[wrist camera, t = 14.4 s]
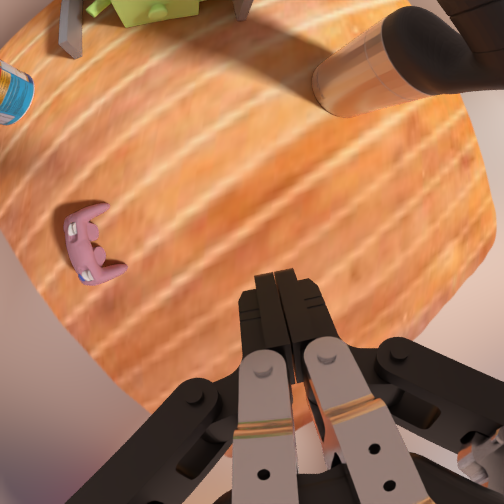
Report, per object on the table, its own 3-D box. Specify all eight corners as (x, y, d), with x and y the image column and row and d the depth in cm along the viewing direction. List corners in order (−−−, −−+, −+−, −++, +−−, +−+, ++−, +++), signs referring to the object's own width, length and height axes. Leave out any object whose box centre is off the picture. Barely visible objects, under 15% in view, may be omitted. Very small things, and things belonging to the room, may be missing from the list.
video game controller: (90, 205, 35) (52, 219, 28) (111, 198, 33) (72, 211, 27) (110, 272, 38) (77, 294, 31) (132, 270, 36) (98, 294, 30)
